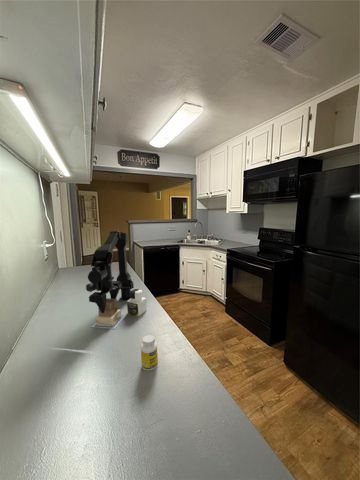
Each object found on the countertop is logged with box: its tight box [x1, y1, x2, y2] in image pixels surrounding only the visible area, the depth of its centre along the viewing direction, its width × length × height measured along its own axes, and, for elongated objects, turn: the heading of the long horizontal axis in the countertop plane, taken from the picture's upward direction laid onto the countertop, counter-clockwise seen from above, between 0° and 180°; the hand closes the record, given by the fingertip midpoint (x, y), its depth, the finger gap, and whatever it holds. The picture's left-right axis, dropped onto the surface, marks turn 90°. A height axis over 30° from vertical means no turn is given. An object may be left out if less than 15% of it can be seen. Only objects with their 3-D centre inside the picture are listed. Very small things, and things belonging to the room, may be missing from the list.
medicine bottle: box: [126, 288, 148, 317], centre depth 103 cm, size 7×7×12 cm
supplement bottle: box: [140, 334, 159, 371], centre depth 67 cm, size 5×5×10 cm
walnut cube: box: [97, 297, 119, 317], centre depth 94 cm, size 6×6×6 cm
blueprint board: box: [90, 314, 127, 330], centre depth 95 cm, size 12×12×1 cm
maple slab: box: [95, 309, 122, 327], centre depth 95 cm, size 8×8×4 cm
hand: (108, 307), depth 94 cm, fingers open, 9 cm apart
